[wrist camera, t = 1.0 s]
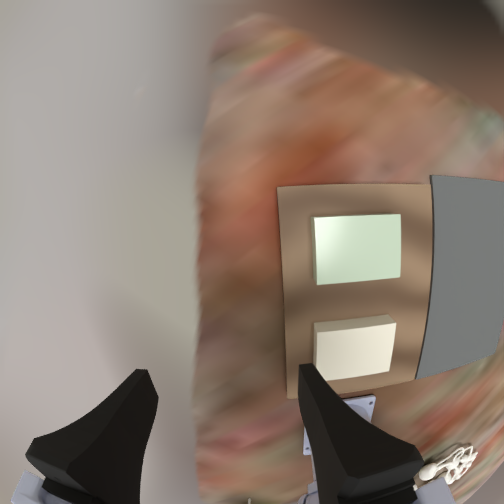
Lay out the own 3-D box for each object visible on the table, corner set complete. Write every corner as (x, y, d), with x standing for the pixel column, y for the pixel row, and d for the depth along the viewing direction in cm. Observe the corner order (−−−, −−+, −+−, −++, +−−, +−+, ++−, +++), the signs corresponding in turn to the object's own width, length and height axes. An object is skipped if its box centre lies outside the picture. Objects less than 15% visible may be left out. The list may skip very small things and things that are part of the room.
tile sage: (390, 271, 21) (400, 277, 20) (313, 278, 22) (316, 284, 20) (390, 213, 21) (400, 214, 19) (310, 216, 21) (314, 217, 19)
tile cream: (382, 360, 23) (388, 371, 21) (313, 369, 24) (315, 381, 22) (387, 314, 22) (396, 322, 20) (313, 322, 23) (317, 332, 21)
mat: (493, 352, 23) (494, 353, 23) (414, 377, 25) (415, 379, 24) (510, 183, 20) (512, 183, 20) (429, 175, 21) (431, 175, 21)
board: (409, 372, 25) (414, 379, 23) (286, 390, 26) (287, 398, 24) (422, 185, 21) (430, 184, 20) (276, 188, 23) (276, 187, 21)
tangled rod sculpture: (487, 436, 28) (496, 446, 24) (445, 483, 29) (452, 494, 25) (438, 440, 27) (448, 455, 23) (387, 493, 29) (394, 508, 25)
